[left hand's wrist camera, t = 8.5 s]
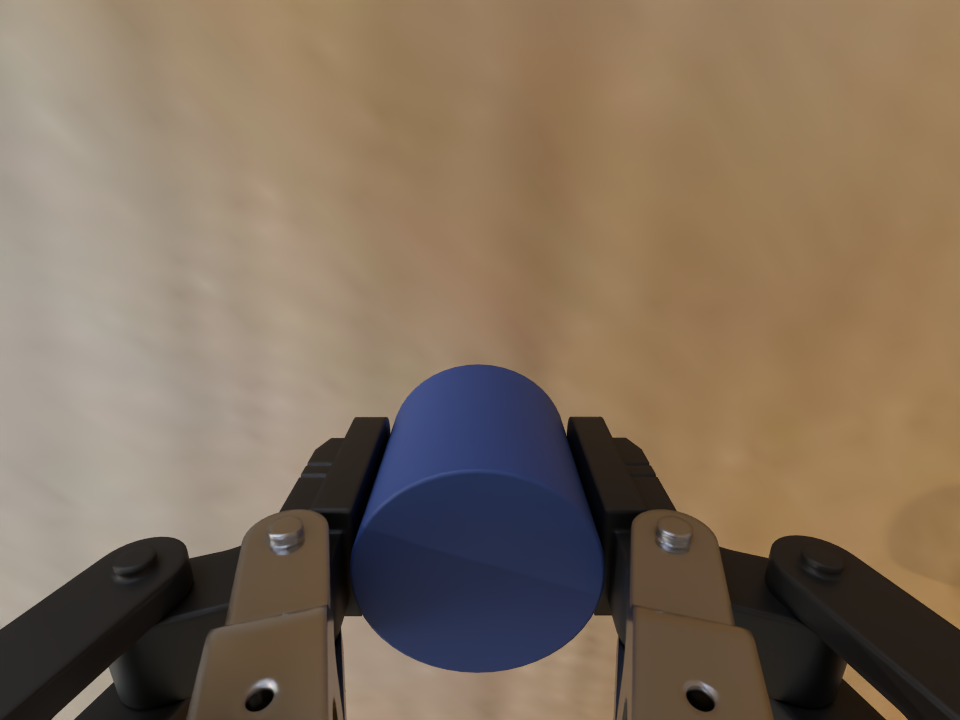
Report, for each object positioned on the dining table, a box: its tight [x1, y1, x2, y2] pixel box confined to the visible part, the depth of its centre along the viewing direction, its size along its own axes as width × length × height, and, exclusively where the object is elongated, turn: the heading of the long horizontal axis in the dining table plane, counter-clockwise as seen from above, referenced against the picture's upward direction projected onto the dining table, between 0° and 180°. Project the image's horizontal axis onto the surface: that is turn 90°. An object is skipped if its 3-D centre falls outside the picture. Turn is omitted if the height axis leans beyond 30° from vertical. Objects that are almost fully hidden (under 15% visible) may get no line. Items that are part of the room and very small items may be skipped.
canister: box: [350, 365, 605, 673], centre depth 10 cm, size 4×4×4 cm
